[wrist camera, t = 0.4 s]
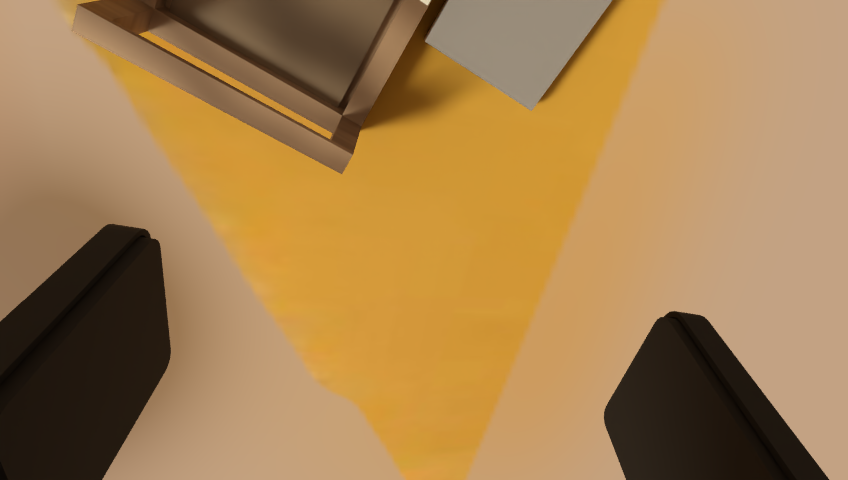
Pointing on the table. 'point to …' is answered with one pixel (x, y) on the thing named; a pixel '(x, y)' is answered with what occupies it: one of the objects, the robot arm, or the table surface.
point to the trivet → (514, 40)
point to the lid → (425, 1)
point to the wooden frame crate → (268, 58)
